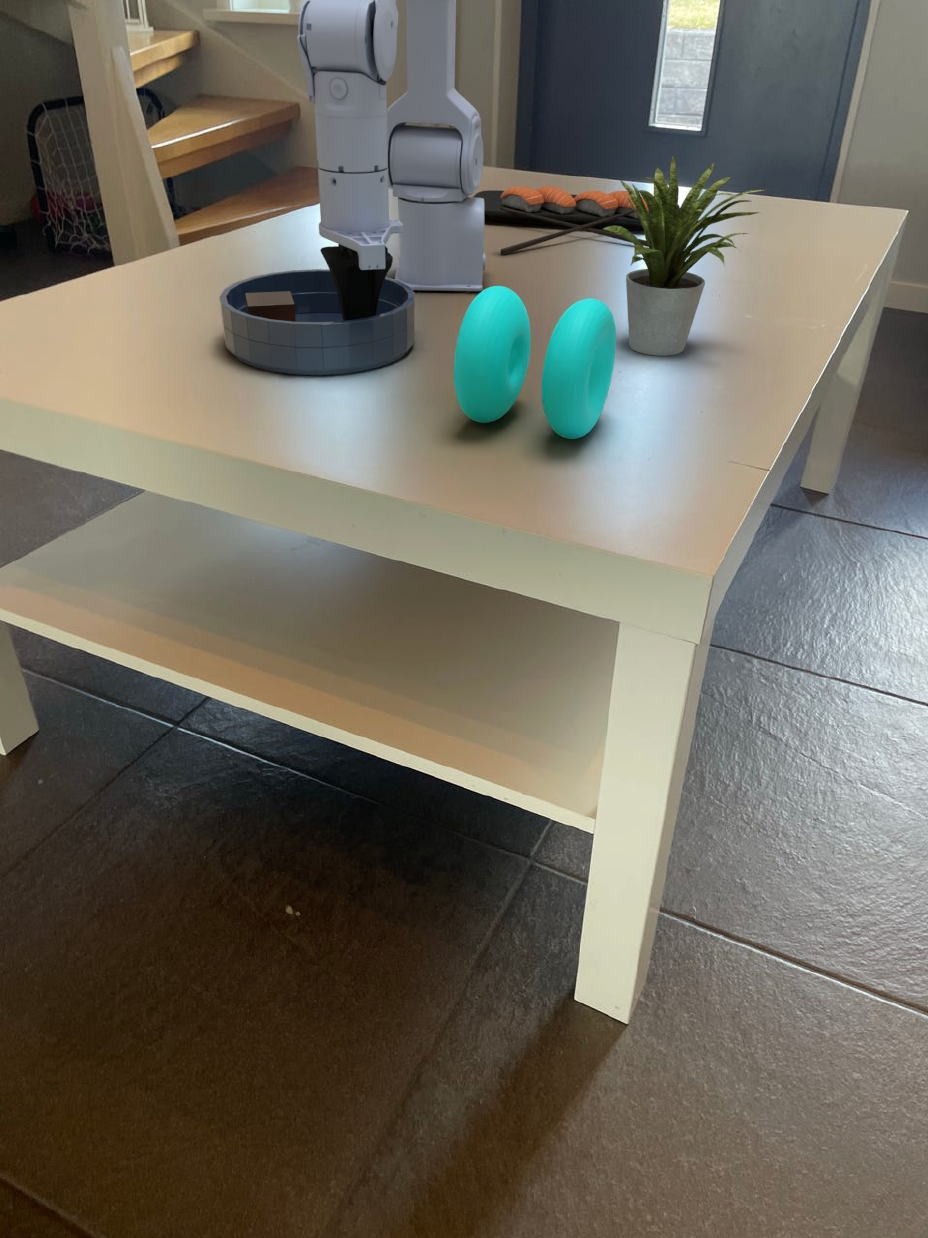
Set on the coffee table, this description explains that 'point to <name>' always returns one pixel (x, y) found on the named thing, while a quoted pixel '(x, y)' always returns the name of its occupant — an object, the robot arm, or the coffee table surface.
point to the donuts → (501, 355)
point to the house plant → (670, 260)
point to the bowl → (317, 326)
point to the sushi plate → (562, 211)
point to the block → (271, 305)
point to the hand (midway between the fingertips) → (359, 332)
